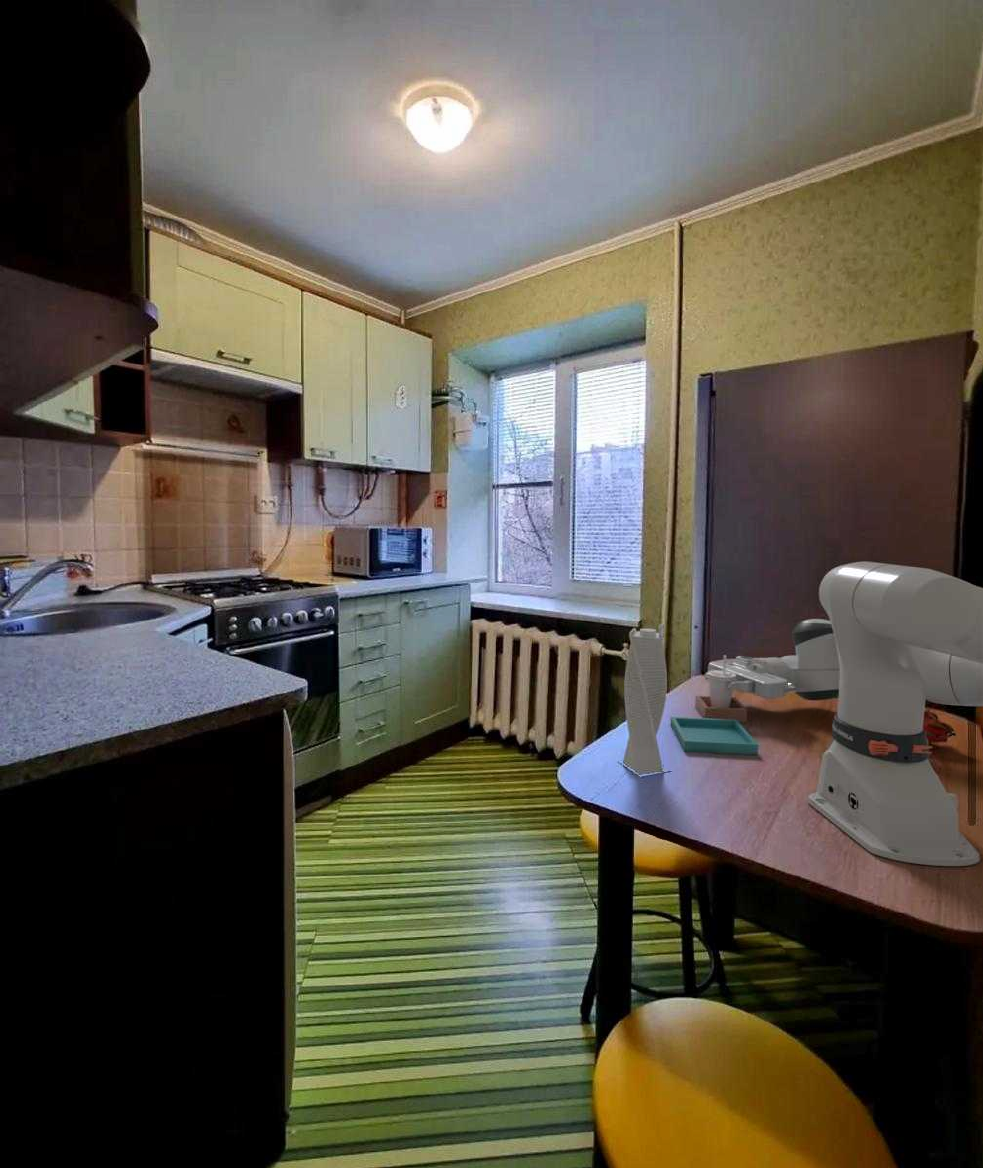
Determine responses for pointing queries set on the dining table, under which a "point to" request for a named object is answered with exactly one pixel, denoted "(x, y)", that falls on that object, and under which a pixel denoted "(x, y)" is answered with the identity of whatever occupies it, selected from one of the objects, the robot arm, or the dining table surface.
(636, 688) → the skyscraper
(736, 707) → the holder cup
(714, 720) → the tray
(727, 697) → the smoothie
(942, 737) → the dragon fruit
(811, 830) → the dining table surface
